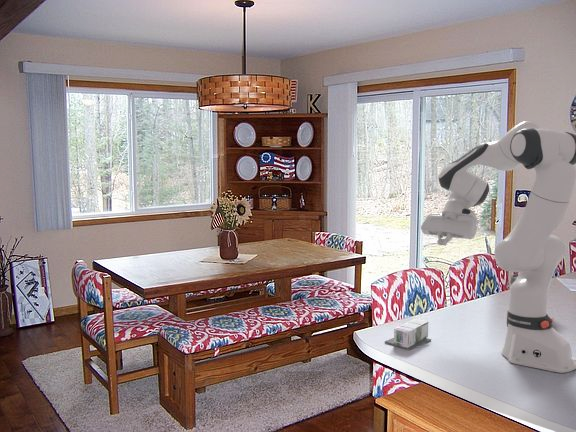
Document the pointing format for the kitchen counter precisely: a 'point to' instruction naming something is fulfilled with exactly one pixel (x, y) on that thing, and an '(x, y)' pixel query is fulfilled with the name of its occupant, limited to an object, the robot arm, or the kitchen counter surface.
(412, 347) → the mat
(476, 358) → the kitchen counter surface
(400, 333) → the syrup box
